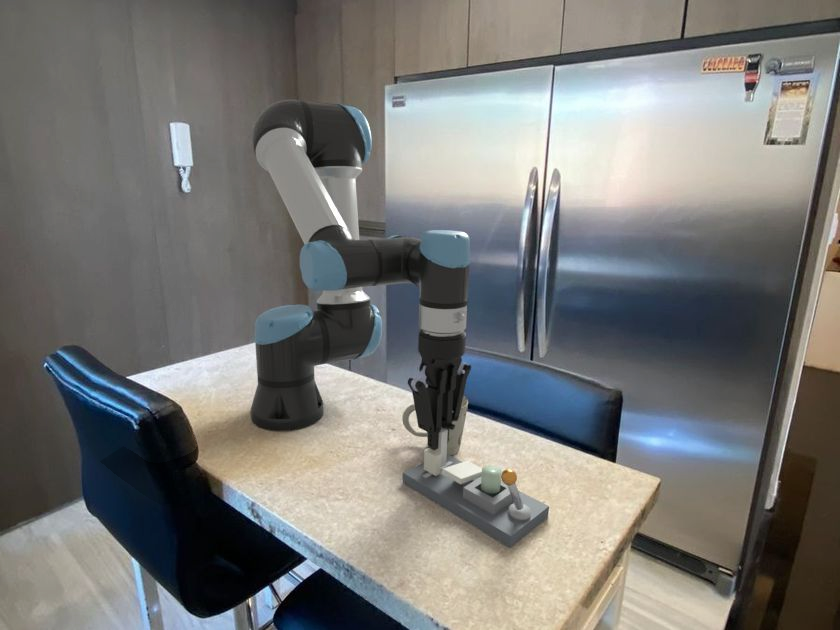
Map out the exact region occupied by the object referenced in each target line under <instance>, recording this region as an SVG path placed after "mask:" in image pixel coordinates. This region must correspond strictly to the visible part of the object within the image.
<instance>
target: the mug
mask: <svg viewBox="0 0 840 630" xmlns="http://www.w3.org/2000/svg"><path fill="white" fill-rule="evenodd" d="M468 405H469V400H468V398H467V397H466V396H464V395H463V400H462V405H461V409H460V414H459V419H458V420H457V421H453V422H452V424H454V425H455V428H454V429H453V430H451V429H449V441H448V444H447V454H448V455H450V456H453V455H455V454H458V453H459V451H460V448H461V444H462V439H463V433H464V427H465V423H466V419H467V418H466V417H467V413H468V412H467V411H468V407H469V406H468ZM414 411H415V405H414V403H412V404H410V405H409V406H407V407H406V408H405V409H404V411H403V413H402V419H401V421H402V425H403V426H404V428H405V429H406V430H407V431H408V432H409V433H410V434H411V435H413V436H415V437H420V438H421V437H423V438H426V439H427V441H428V432H427V431H426V432H423V431H417V430H415V429H414V428H413V427H412V425H411V424H410V421H409V419H410V416H411V414H412V413H413V412H414ZM415 412H416V411H415ZM452 412H454V411H452ZM428 448H429V447H428V446H427V449H428Z"/></svg>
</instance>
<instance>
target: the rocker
mask: <svg viewBox="0 0 840 630" xmlns="http://www.w3.org/2000/svg"><path fill="white" fill-rule="evenodd" d="M461 462H462V463H459V464H456V465H452V466H449V467H446V468H443V469H442V474H443V475H445V476H446V477H448V478H450V479H452V480H454V481H455V482H457V483H459V484H463V483H465V482H468V481H471V480H474V479H477V478H479V477H481V476H482V468H483V467H480V466H478V465H476V464H475V463H472V462H471V461H469V460H465V461H461Z"/></svg>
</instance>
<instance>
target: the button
mask: <svg viewBox="0 0 840 630" xmlns="http://www.w3.org/2000/svg"><path fill="white" fill-rule="evenodd" d="M481 468H482V477H481V489H482V490H483V491H484V492H486V493H490V494H494V493H498V492H499V491H500V487H501V480H502V479H501V474H502V472H503V471H502V469H501V468H500V467H499V466H495V465H485V466H484V467H481Z"/></svg>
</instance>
